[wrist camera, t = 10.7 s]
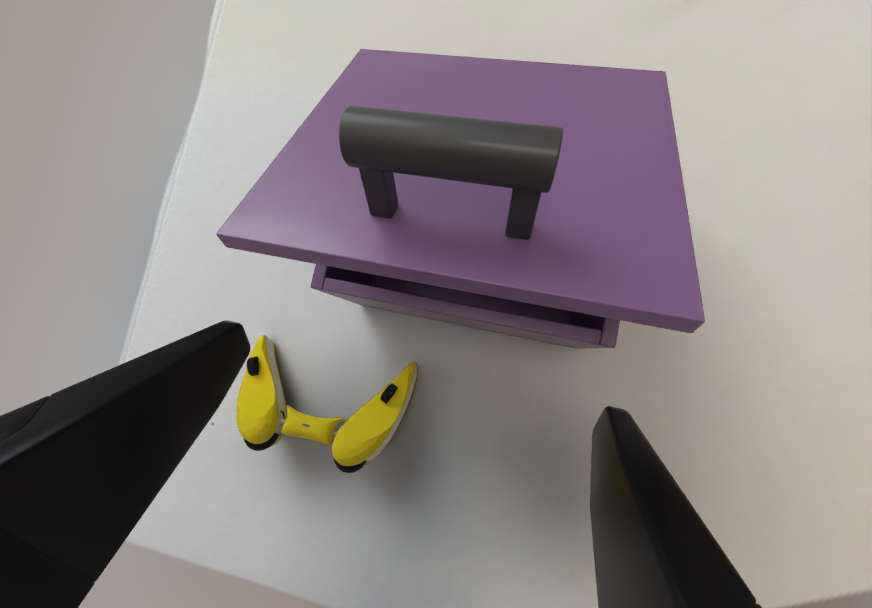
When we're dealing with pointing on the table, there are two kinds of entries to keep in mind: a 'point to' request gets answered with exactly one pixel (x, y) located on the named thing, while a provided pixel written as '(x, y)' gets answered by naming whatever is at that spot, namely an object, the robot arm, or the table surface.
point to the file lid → (489, 185)
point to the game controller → (351, 446)
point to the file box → (468, 308)
